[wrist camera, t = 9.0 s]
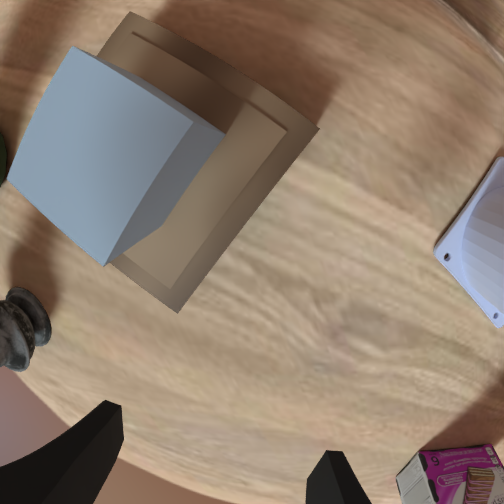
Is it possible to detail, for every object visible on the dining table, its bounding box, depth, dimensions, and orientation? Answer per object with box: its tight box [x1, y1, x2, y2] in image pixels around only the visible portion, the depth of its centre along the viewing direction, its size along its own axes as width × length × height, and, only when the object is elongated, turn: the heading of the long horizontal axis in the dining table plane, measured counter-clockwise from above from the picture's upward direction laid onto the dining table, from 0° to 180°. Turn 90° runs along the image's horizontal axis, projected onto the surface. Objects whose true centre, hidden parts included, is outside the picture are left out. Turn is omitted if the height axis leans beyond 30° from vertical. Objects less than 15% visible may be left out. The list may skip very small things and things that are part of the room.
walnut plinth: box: [97, 12, 320, 314], centre depth 15 cm, size 11×11×3 cm
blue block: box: [7, 46, 226, 267], centre depth 11 cm, size 5×5×6 cm
